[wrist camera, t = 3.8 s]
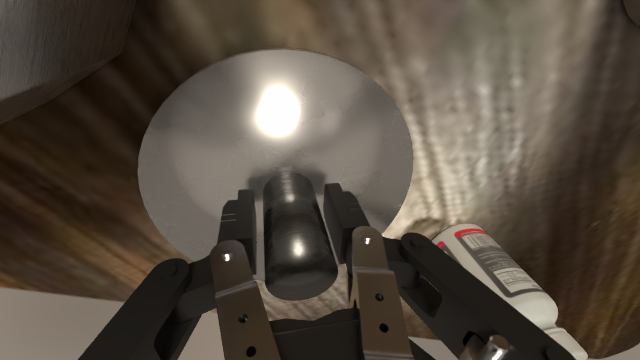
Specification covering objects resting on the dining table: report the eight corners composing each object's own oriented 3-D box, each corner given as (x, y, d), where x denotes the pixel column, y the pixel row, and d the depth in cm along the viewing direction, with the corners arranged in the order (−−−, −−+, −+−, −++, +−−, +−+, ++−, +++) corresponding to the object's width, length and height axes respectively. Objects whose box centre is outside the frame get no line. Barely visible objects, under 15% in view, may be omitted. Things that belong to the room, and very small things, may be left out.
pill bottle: (440, 273, 25) (524, 400, 17) (411, 250, 23) (495, 387, 15) (491, 239, 24) (608, 359, 16) (466, 210, 21) (594, 336, 13)
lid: (422, 46, 14) (552, 82, 8) (378, 245, 22) (426, 342, 16) (107, 39, 11) (-69, 85, 5) (185, 268, 19) (151, 395, 13)
